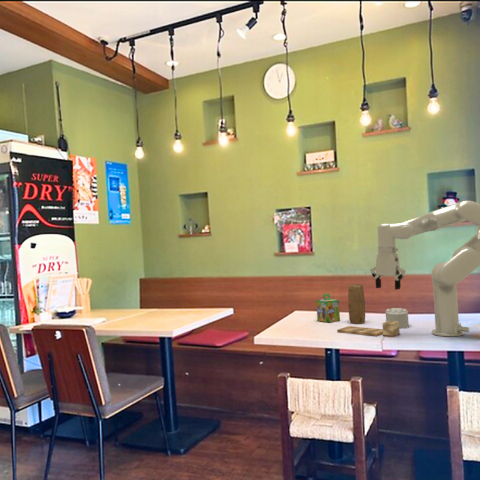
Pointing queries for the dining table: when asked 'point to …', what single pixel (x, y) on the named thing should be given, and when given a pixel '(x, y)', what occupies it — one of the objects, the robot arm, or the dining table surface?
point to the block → (356, 304)
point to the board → (361, 331)
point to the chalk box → (328, 309)
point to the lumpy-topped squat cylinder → (398, 316)
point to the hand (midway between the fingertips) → (387, 288)
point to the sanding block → (391, 328)
